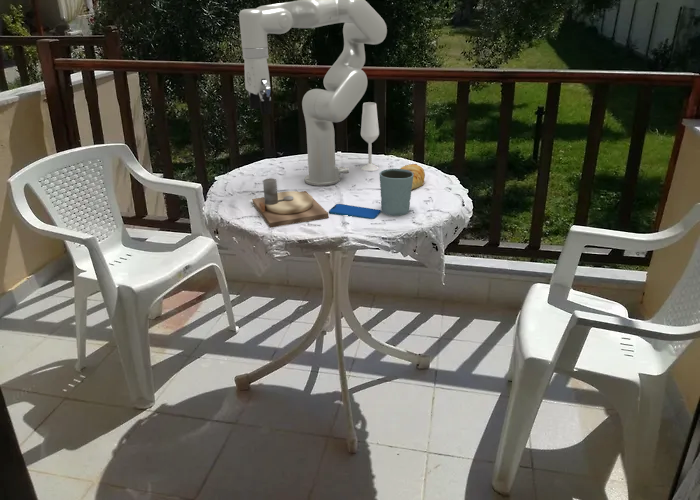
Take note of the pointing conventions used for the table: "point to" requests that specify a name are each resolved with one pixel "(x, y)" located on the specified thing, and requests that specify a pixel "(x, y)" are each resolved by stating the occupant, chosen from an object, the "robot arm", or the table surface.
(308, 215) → the board
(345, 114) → the robot arm
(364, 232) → the table surface
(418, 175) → the croissant
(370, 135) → the champagne flute
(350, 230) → the table surface
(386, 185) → the grey-green cup
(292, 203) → the dial
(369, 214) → the smartphone
